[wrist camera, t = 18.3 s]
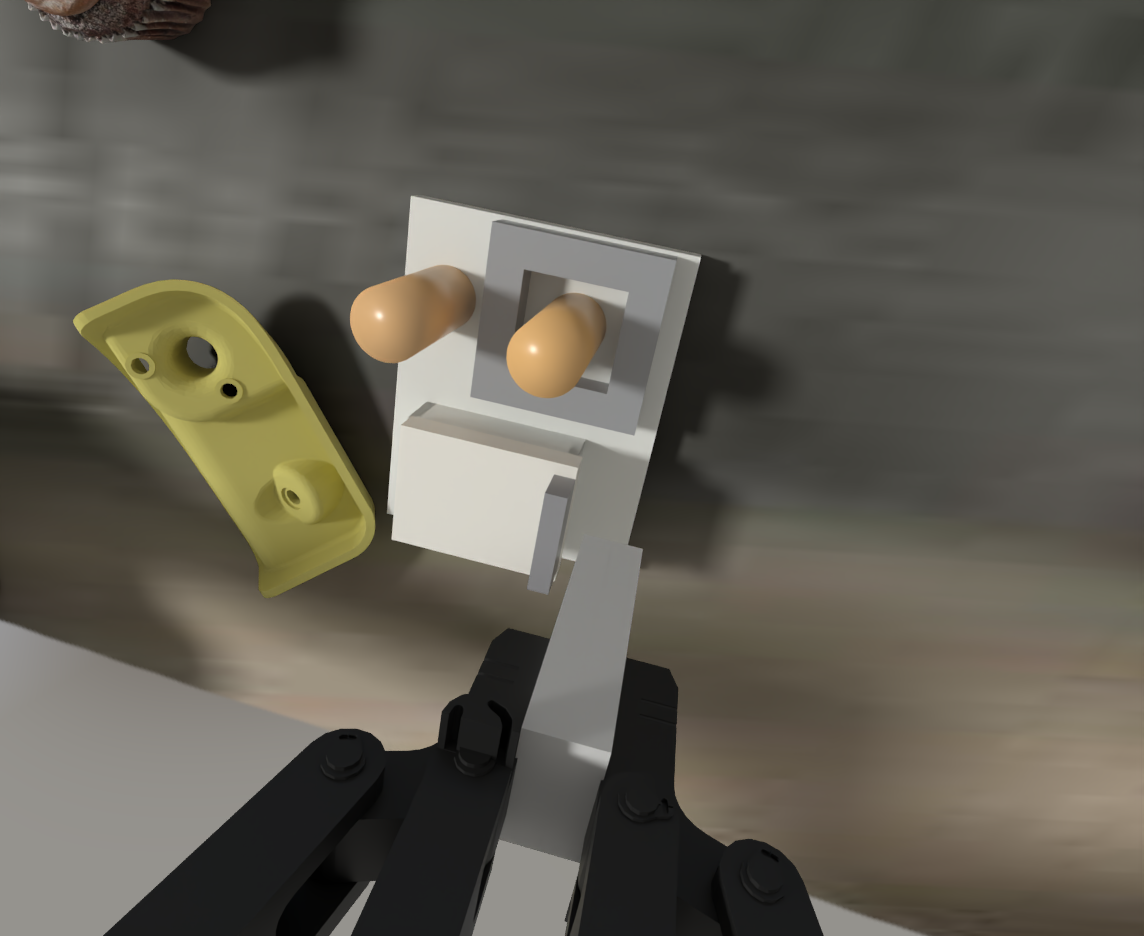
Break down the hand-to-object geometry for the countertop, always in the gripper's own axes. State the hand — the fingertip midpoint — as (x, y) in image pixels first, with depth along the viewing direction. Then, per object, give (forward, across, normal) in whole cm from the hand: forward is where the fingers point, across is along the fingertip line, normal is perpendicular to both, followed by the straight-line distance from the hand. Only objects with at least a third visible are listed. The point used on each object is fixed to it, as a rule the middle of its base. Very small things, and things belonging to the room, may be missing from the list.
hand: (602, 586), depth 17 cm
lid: (+20, -8, -9) cm, 23 cm away
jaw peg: (+23, -5, +1) cm, 23 cm away
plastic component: (+25, -24, -10) cm, 36 cm away
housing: (+24, -7, -4) cm, 26 cm away
